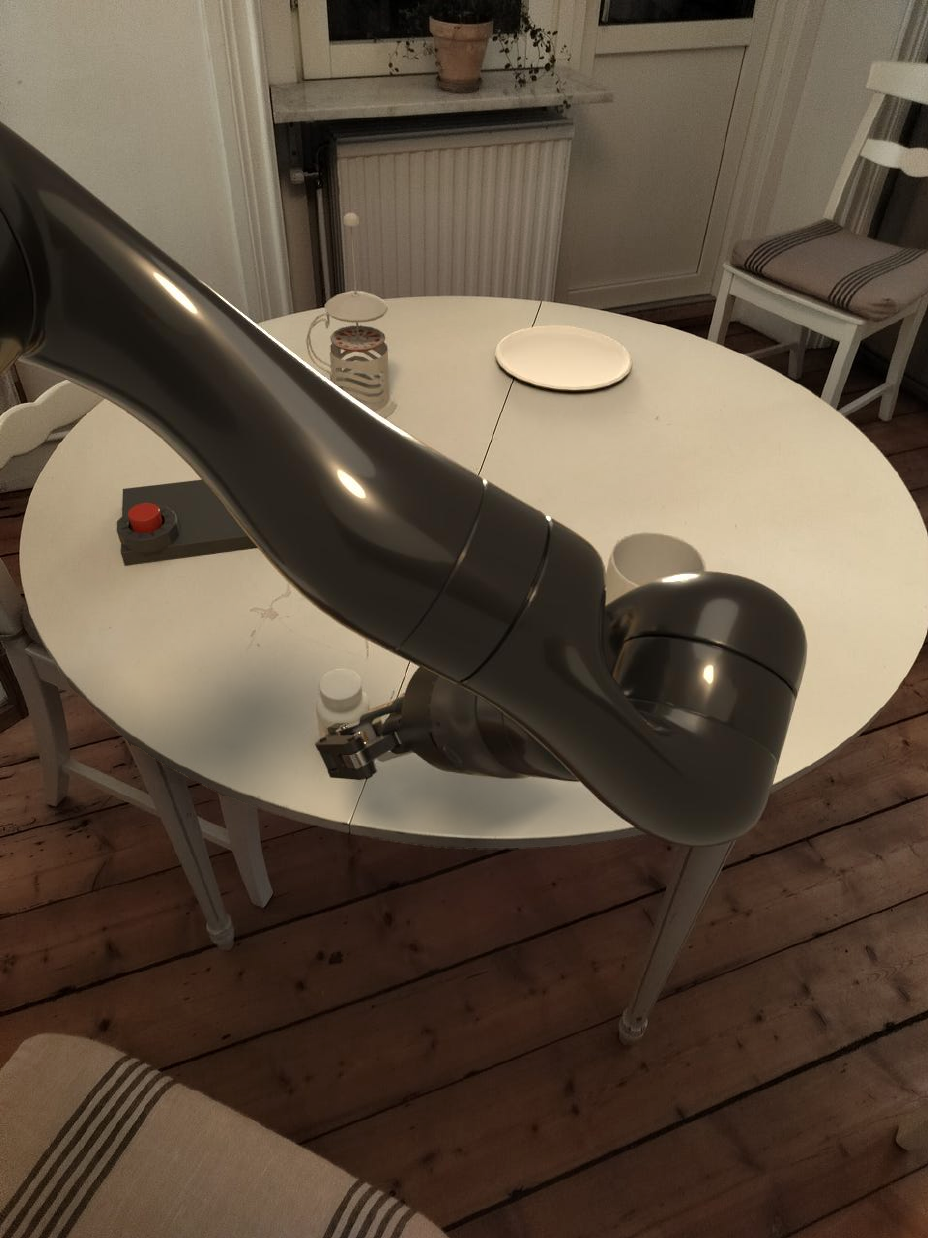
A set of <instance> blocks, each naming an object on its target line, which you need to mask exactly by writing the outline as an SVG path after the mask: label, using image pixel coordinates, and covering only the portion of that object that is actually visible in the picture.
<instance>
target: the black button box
mask: <svg viewBox="0 0 928 1238" xmlns="http://www.w3.org/2000/svg"><path fill="white" fill-rule="evenodd" d="M121 503H122V504H121V516H120V518H119V519H118V520H116V533H117V537H118V540H119V543H120V556H121V559H122V562H123V565H124V566H126V567H127V566H132V565H139V564H145V563H155V562H162V561H168V560H169V561H170V560H176V559H184V558H191V557H198V556H206V555H212V554H213V555H214V554H220V553H226V552H235V551H242V550H249V549H256V548H257V549H258V547H257V546H256V545H255V544H254V543H253V541H252V540H251V539H250V538H249V536H248V535H247V534H246V533H245V532H244V530H243V529H242V528H241V527H240V525H239V524H238V523H237V521H236V520H235V519H234V518H233V516H232V515H231V514H230V512H229V511H228V510H227V509H226V507H225V506H224V505H223V504H222V502H221V501H220V500H219V499H218V497H217V496H216V495H215V494H214V493H213V492H212V491H211V489H210V488H209V487H208V486H207V485H206V484H205V483H204V481H203V480H202V479H196V480H195V479H194V480H186V481H185V480H184V481H178V482H169V483H161V484H152V485H143V486H137V487H136V486H134V487H126V488H122V501H121ZM143 503H151V504H154V505H156V506H158V508H159V510H160V514H161V517H162V521H163V524H162V526H161V528H159V529H157V530H155V531H153V532H149V533H137V532H135V531H133V529H132V527H131V524H130V520H129V517H128V512H129V510H130V509H131V508H132V507H134V506H136V505H139V504H143Z"/></svg>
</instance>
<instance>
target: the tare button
mask: <svg viewBox="0 0 928 1238" xmlns="http://www.w3.org/2000/svg"><path fill="white" fill-rule="evenodd" d="M128 517H129V520H130V524H131V527H132V529H133V531H135V532H137V533H149V532H153V531H155V530H157V529H159V528H161V526H162V524H163V521H162V517H161V514H160V510H159V508H158V506H156V505H154V504H151V503H143V504H139V505H136V506H134V507H132V508H131V509H130V510H129V512H128Z"/></svg>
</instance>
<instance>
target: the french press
mask: <svg viewBox="0 0 928 1238" xmlns="http://www.w3.org/2000/svg"><path fill="white" fill-rule="evenodd" d="M342 220H343V225H344V226H347V227H350V237H351V251H352V252H351V253H352V254H351V255H352V256H351V257H352V271H353V274H352V275H353V289H354V290H351V291H347V292H343V293H339V294H336V295H334V296H333V297H331V298H330V299H328V300H327V302H326V303H324V311H325V312H323V313H321V314H319V315H318V316H316V317H315V318H314V319H313V320H312V321H311V323H310V325H309V327H308V332H307V334H306V338H305V343H306V350H307V353H308V357H309V359H310V360H311V361H312V363H313V364H314V365H315V366H316V367H318V368H319V369H321V370H322V371H324V372H326V373H327V374H329V381H331V382H332V383H333V384H335V385H336V386H337V387H339V388H340V389H342V390H343V391H345V392H346V393H347V394H349V395H350V396H352V397H353V398H355V399H356V400H358V401H359V402H361V403H362V404H364V405H365V406H367V407H368V408H370V409H371V410H373V411H374V412H376V413H377V414H379V415H380V416H382V417H383V418H385V419H386V417H388V416H389V415H391V414H393V413H394V411H395V410H396V408H397V406H398V403H397V400H396V397H395V396H393V395H392V393H390V387H389V386H390V382H389V381H390V379H389V377H390V376H389V349H388V345H387V344H386V342H385V340H386V335H385V333H384V332H382V331H381V330H380V329H379V328H375V327H373V326H367V325H362V324H360V325H359V323H368V322H375V321H377V320H379V319H381V318H383V317H384V316H385V315H386V313H387V311H388V310H389V305H388V303H387V302H385V301H384V300H383V299H382V298H381V297H379V296H377V295H375V294H373V293H370V292H366V291H360V290H357V281H356V263H355V262H356V261H355V245H354V229H353V227H356V226H359V225H360V217H359V216H358V215H357V214H356V213H354V212H348V213H346V214H345V215H344V217H343V219H342ZM324 316H326V319H325V318H322V317H324ZM330 317H331V318H332V319H335V320H336V321H340V322H344V323H345V322H346V323H351V324H355V323H356V324H355V325H347V326H343V327H340V328H338V329H336V330H335V331H333V332H332V333H331V335H330V336H329V337H330V343H331V344H330V346H329V348H330V349H329V350H330V352H329V360H330V363H327V362H326V361H323V360H322V359H321V358H320V357H319V356H318V355H317V354H316V352H315V351H314V348H313V347H312V346H313V345H312V340H311V332H312V330H313V328H314V327H315V326H316V325H317V324H318V323H321V322H322V321H323V322H324V325H325V329H329V327H330V321H331V320H330ZM319 318H320V319H319ZM342 350H343V352H342ZM370 351H373V352H375V353H377V354H378V355H379V356H376V354H373V353H372V352H370ZM311 353H312V354H311ZM352 353H362V354H364V355H366V356H368V357H369V358H371V360H370V359H367V358H366V357H365V356H360V355H353V356H350V357H347V358H346V359H343V358H344V357H345V356H347V355H349V354H352ZM312 355H313V356H314V357H313V356H312ZM314 358H316V360H318V361H319V362H320V363H321V364H323V365H325V366H327V367H329V368H330V371H329V370H328V369H326V368H324V367H322V366H320V365H319V364H318V363H317V362H316V361H315V360H314ZM352 371H354V373H350V372H352ZM380 374H382V375H380ZM370 376H373V377H374V378H376V379H373V378H372V377H370ZM381 382H382V383H381Z"/></svg>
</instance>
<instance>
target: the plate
mask: <svg viewBox="0 0 928 1238" xmlns="http://www.w3.org/2000/svg"><path fill="white" fill-rule="evenodd" d="M494 358H495V359H496V361H497V363H498V366H499V367H501V369H503V371H505V372H506V373H507V375H509V376H511V377H513V378H515V379H517V380H518V381H520V382H523V383H525V384H528V385H531V386H535V387H538V388H542V389H547V390H552V391H562V392H584V391H585V392H586V391H594V390H599V389H604V388H609V387H610V386H613V385H615V384H617V383H620V382H621V381H622V380H624V378H626V377H627V376H628V375H629V374H630V372H631V369H632V367H633V361H632V356H631V355H630V353H629V352H628V350H627V349H626V347H625V346H623V345H622V344H621V343H619V342H618V341H616V340H615V339H613V338H611V337H610V336H607V335H605V334H603V333H600V332H597V331H594V330H591V329H586V328H581V327H576V326H569V325H556V324H555V325H538V326H532V327H528V328H526V327H525V328H522V329H519V330H516V331H514V332H511V333H509V334H508V335H506V336H505V337H503V338H502V339H501V340H500V341H499V342H498V344H497V345H496V347H495V354H494Z"/></svg>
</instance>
